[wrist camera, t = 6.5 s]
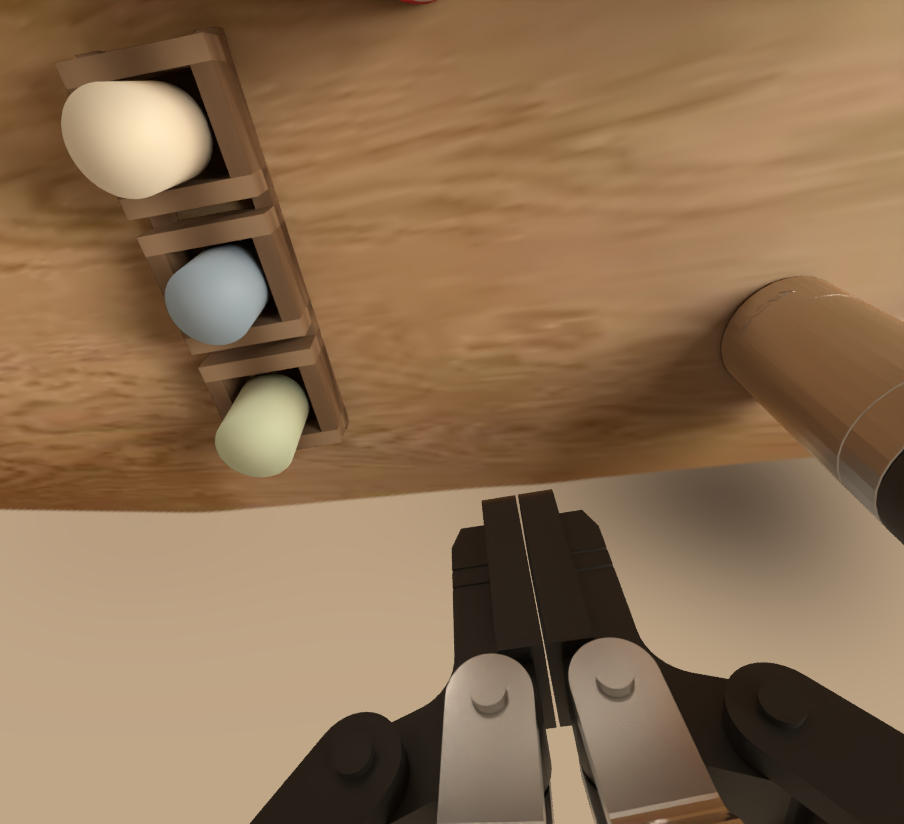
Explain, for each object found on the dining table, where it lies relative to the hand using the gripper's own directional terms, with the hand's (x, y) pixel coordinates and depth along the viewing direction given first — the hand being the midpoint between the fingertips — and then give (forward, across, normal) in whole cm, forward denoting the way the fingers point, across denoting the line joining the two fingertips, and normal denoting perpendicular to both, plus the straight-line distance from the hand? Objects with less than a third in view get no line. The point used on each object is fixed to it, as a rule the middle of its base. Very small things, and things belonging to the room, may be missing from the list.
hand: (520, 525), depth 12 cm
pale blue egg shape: (+28, +16, 0) cm, 32 cm away
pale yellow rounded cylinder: (+26, +16, +9) cm, 32 cm away
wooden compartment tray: (+29, +16, 0) cm, 33 cm away
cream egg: (+26, +16, -9) cm, 31 cm away
